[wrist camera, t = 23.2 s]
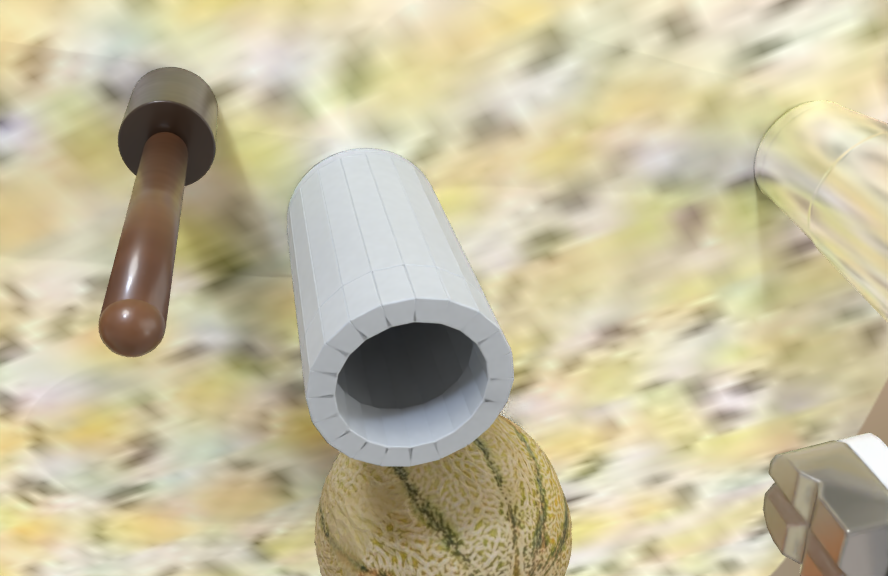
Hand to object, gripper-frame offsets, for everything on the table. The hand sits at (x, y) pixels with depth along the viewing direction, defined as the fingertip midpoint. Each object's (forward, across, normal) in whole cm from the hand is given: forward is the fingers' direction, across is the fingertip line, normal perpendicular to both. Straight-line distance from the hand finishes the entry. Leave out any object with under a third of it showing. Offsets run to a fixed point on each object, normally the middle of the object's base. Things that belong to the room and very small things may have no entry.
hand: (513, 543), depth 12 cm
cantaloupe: (+32, -1, +28) cm, 43 cm away
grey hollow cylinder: (+32, 0, +11) cm, 34 cm away
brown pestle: (+32, +8, +4) cm, 33 cm away
